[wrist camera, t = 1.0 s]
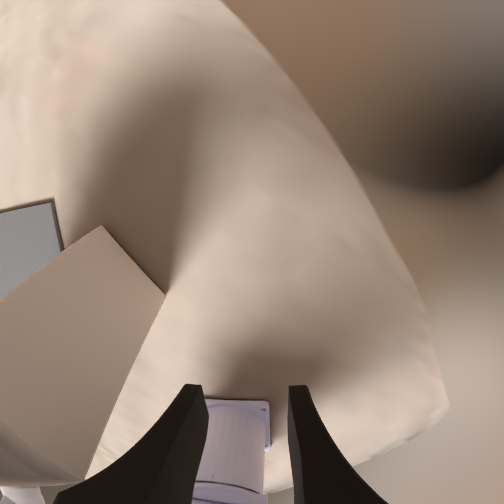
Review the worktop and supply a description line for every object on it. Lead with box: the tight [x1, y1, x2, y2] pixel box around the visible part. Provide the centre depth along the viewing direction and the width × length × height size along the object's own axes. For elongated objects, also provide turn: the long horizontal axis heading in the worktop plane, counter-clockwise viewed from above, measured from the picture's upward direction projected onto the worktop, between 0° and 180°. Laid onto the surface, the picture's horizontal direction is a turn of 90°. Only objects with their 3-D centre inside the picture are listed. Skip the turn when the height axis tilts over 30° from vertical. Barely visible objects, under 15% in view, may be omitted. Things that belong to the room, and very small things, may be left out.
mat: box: [0, 202, 63, 300], centre depth 21 cm, size 14×20×1 cm
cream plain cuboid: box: [0, 225, 166, 504], centre depth 12 cm, size 7×7×19 cm
